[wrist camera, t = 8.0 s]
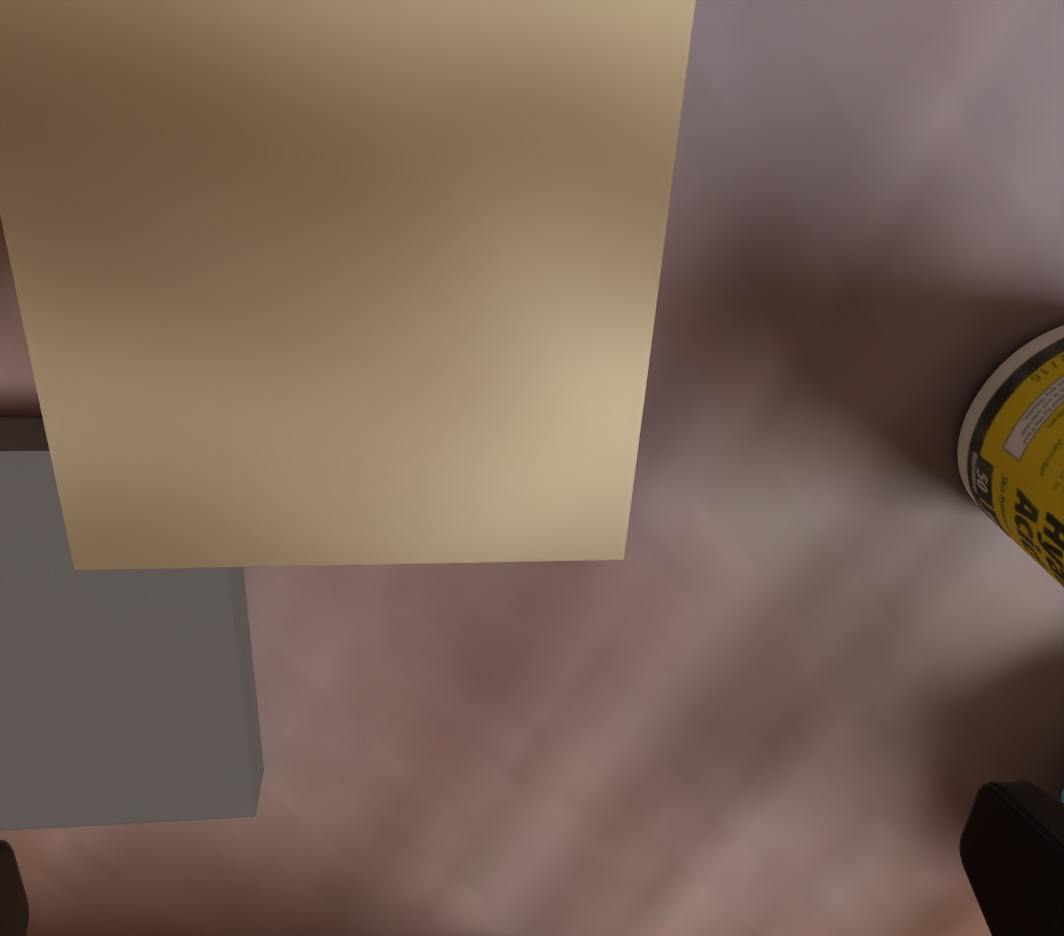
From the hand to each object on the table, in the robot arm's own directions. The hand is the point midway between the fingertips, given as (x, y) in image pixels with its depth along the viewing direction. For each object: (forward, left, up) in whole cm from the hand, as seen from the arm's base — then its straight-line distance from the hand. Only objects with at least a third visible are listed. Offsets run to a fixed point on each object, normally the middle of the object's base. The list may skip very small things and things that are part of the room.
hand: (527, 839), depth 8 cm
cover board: (+5, +2, -7) cm, 9 cm away
